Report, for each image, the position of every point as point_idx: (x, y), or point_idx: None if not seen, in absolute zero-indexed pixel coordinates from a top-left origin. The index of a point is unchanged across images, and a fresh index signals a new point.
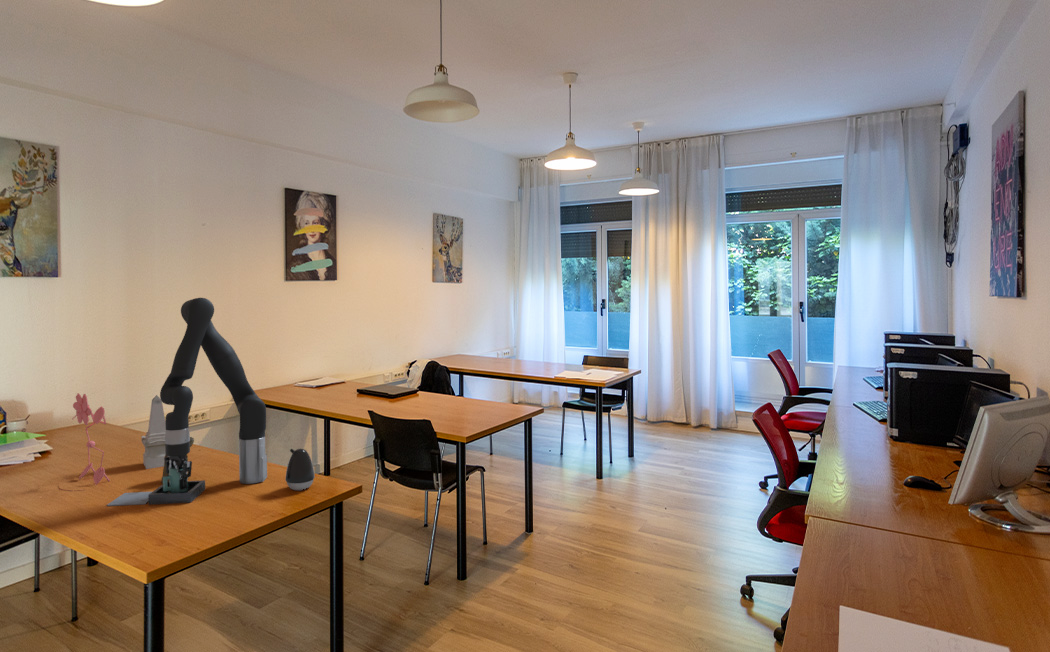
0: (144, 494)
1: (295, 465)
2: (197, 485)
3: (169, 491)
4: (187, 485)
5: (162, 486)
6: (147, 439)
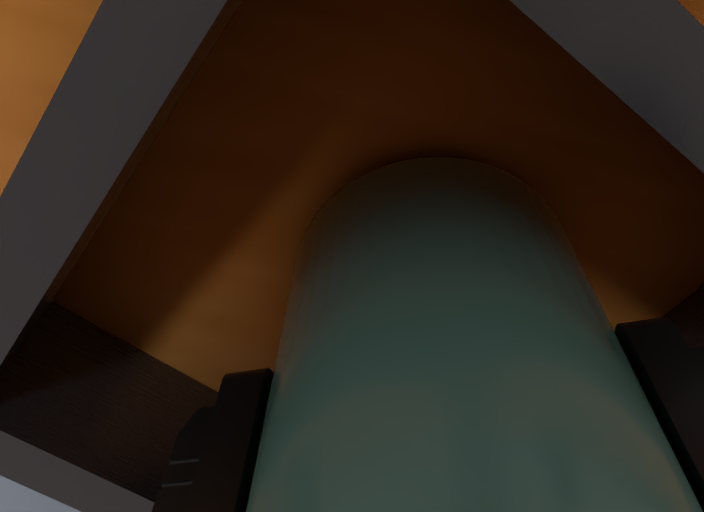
0: (25, 509)
1: None
2: (649, 52)
3: (54, 294)
4: (561, 281)
5: (147, 507)
6: None
